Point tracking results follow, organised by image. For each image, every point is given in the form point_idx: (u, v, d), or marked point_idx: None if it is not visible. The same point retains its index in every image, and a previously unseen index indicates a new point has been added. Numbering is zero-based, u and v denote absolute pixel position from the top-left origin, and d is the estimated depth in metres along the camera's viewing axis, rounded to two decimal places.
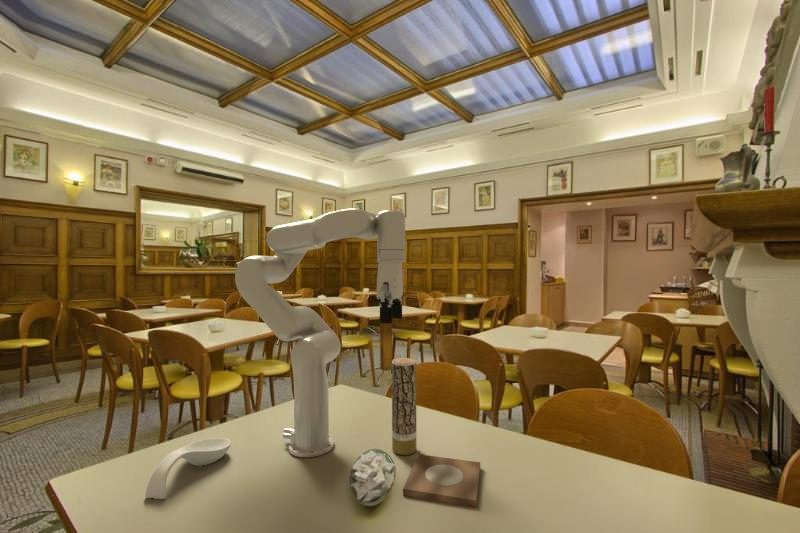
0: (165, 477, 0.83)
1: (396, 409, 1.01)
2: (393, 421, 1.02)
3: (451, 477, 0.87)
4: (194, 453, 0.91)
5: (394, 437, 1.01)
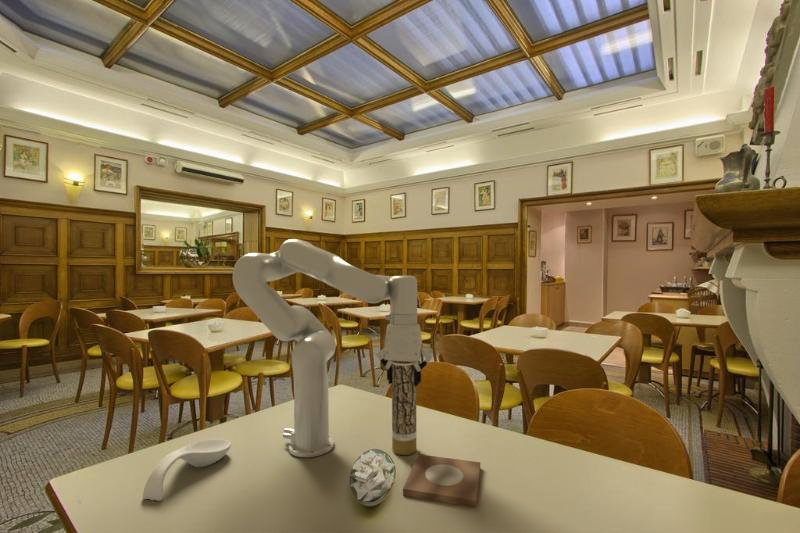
0: (162, 478, 0.82)
1: (396, 409, 1.01)
2: (393, 421, 1.02)
3: (451, 477, 0.87)
4: (192, 454, 0.90)
5: (394, 437, 1.01)
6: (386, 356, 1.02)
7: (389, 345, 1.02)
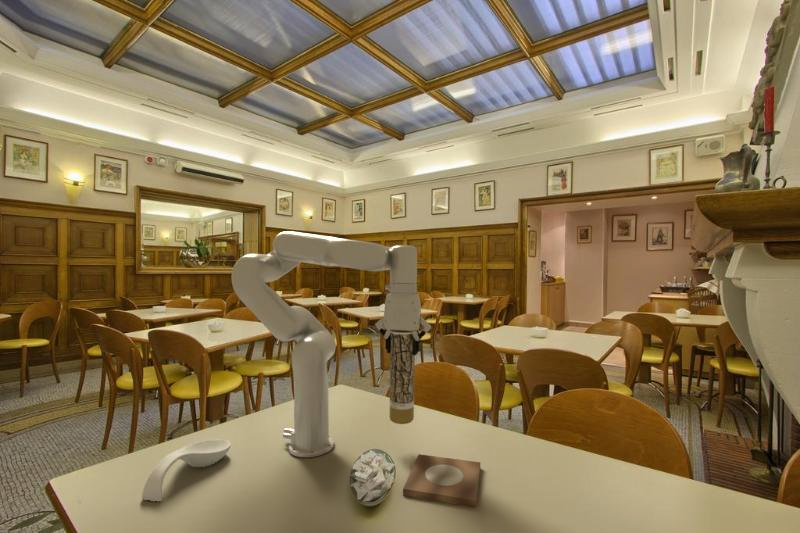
0: (161, 479, 0.82)
1: (394, 378, 1.01)
2: (391, 390, 1.02)
3: (451, 477, 0.87)
4: (192, 455, 0.90)
5: (391, 406, 1.01)
6: (385, 325, 1.02)
7: (388, 314, 1.02)
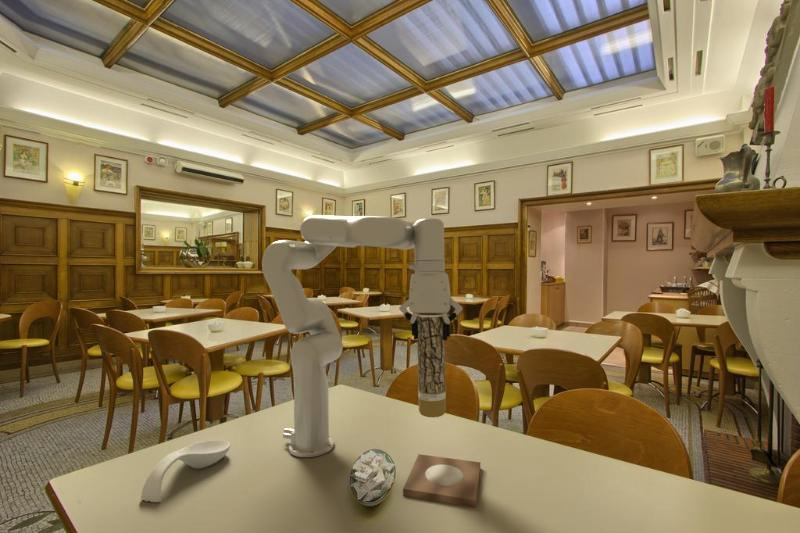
0: (160, 480, 0.81)
1: (424, 366, 0.90)
2: (420, 380, 0.91)
3: (451, 477, 0.87)
4: (191, 455, 0.89)
5: (421, 397, 0.91)
6: (411, 308, 0.92)
7: (414, 295, 0.91)
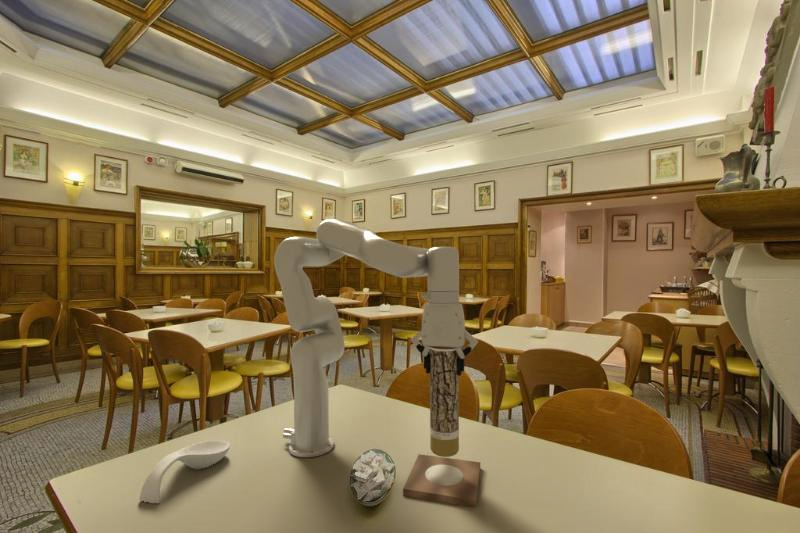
0: (159, 481, 0.81)
1: (436, 403, 0.86)
2: (432, 417, 0.87)
3: (451, 477, 0.87)
4: (190, 456, 0.89)
5: (433, 435, 0.86)
6: (423, 341, 0.87)
7: (427, 328, 0.87)
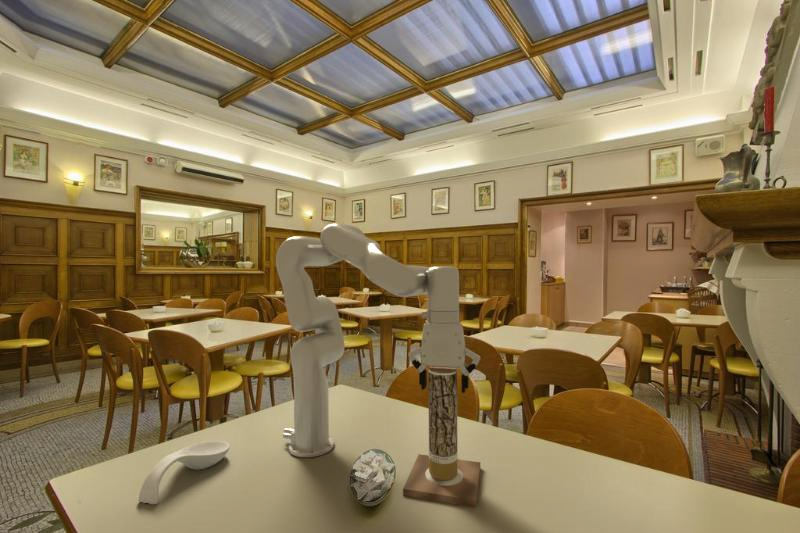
0: (158, 482, 0.81)
1: (435, 427, 0.86)
2: (431, 440, 0.87)
3: None
4: (190, 457, 0.89)
5: (432, 459, 0.86)
6: (423, 360, 0.87)
7: (427, 347, 0.87)
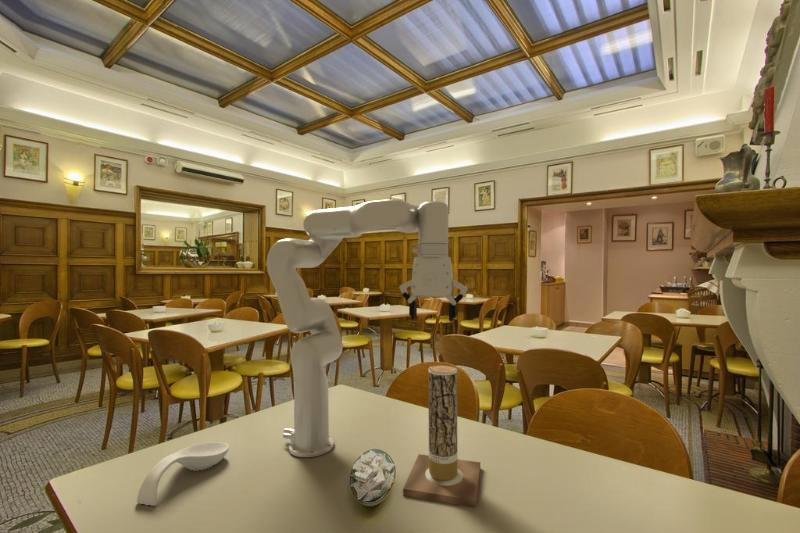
0: (156, 483, 0.80)
1: (435, 427, 0.86)
2: (431, 440, 0.87)
3: None
4: (188, 458, 0.88)
5: (432, 459, 0.86)
6: (413, 291, 0.92)
7: (417, 278, 0.92)
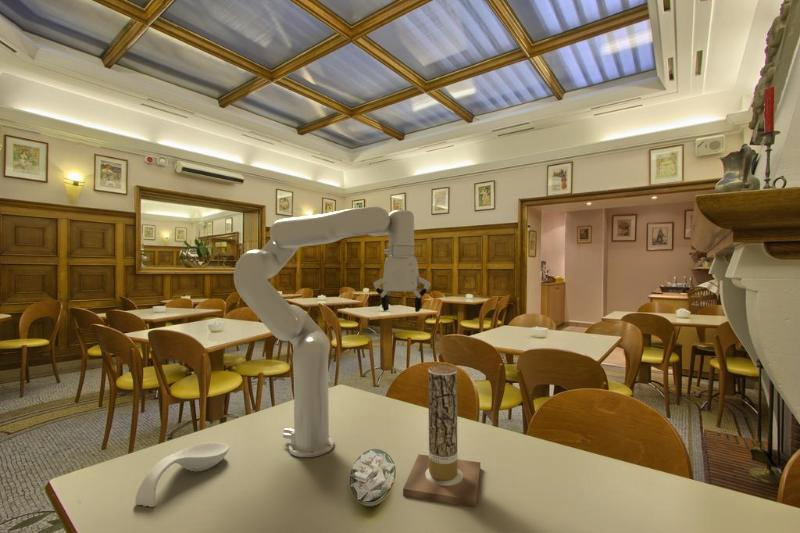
0: (155, 484, 0.80)
1: (435, 427, 0.86)
2: (431, 440, 0.87)
3: None
4: (188, 459, 0.88)
5: (432, 459, 0.86)
6: (384, 286, 1.08)
7: (387, 276, 1.07)
